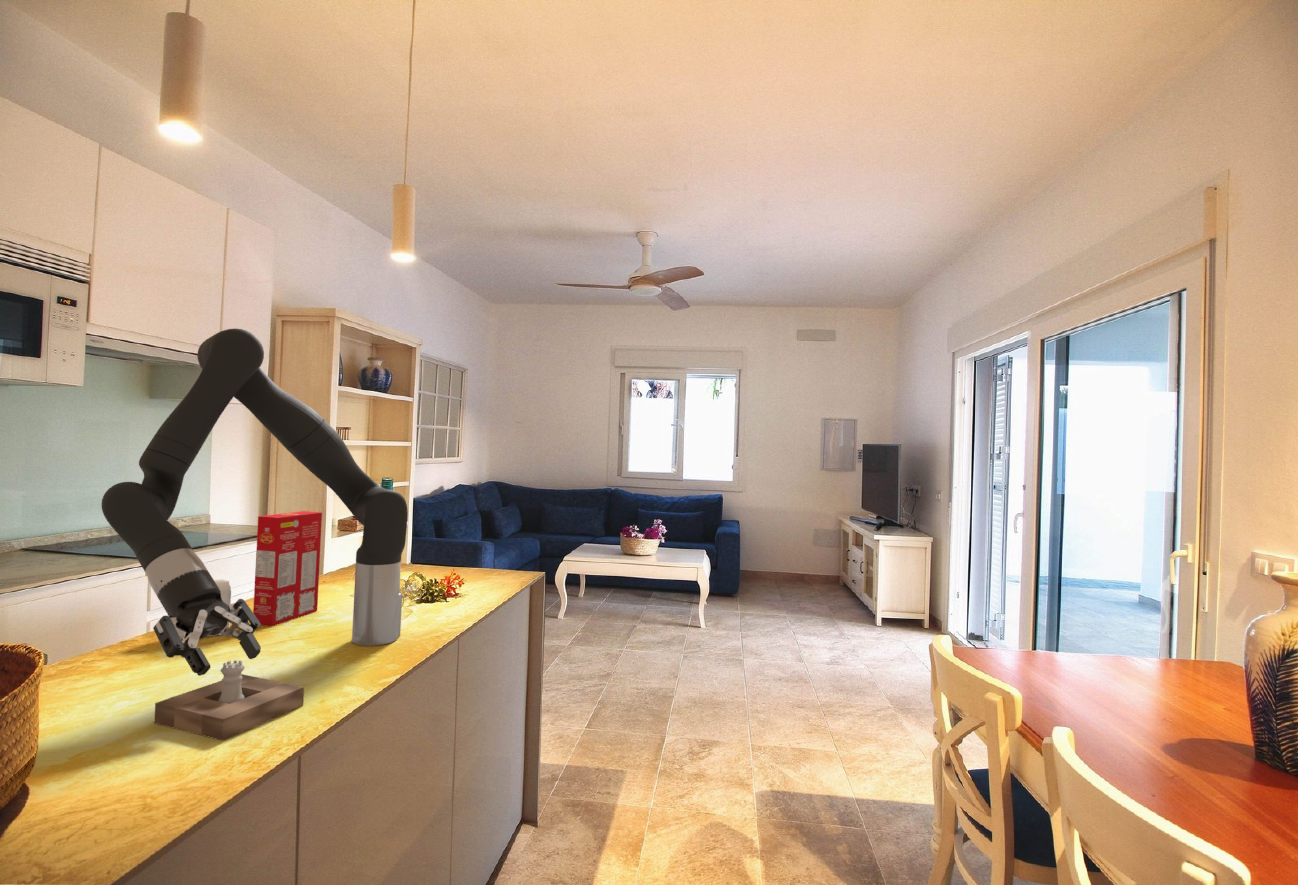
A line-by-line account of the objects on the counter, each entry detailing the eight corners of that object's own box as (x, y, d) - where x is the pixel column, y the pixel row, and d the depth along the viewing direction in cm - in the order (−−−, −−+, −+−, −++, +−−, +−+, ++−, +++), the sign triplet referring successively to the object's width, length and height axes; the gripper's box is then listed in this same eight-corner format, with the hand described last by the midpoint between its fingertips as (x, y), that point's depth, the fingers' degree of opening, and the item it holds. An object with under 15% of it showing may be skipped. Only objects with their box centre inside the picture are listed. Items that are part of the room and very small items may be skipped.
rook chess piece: (223, 708, 104) (226, 658, 104) (253, 708, 104) (255, 658, 104) (207, 719, 99) (209, 667, 99) (237, 719, 100) (240, 667, 100)
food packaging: (298, 609, 165) (303, 511, 165) (317, 611, 164) (322, 512, 164) (252, 624, 150) (258, 516, 150) (272, 626, 149) (277, 517, 149)
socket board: (239, 691, 111) (240, 673, 111) (303, 705, 106) (304, 686, 106) (154, 723, 97) (155, 702, 97) (222, 740, 93) (223, 719, 93)
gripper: (149, 576, 98) (200, 662, 94) (236, 561, 112) (283, 637, 108) (123, 607, 100) (173, 693, 96) (212, 589, 113) (258, 664, 110)
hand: (231, 663), depth 102 cm, fingers open, 8 cm apart
